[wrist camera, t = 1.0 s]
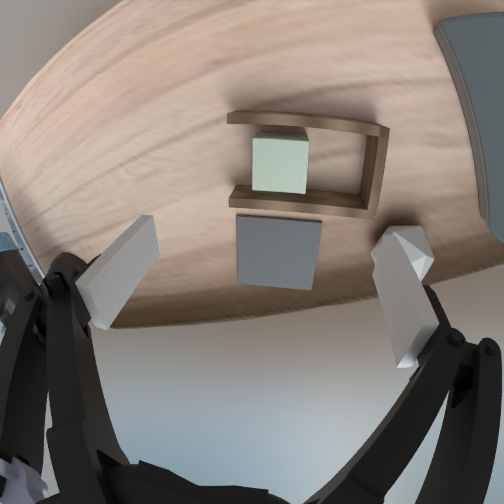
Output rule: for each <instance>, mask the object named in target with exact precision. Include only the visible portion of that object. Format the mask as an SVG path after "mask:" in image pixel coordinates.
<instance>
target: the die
mask: <svg viewBox="0 0 504 504" xmlns="http://www.w3.org/2000/svg"><path fill="white" fill-rule="evenodd" d="M384 234H385V235H393V236H396V237H397V238H398V240H399V242H400V244H401V245H402V247H403V249H404V251H405V253H406V255H407V256H408V258H409V260H410V262H411V264H412V266H413V268H414V270H415V272H416V274H417V276H418V278H419V280H420V282H421V281H422V279H423V278H424V276H425V274H426V273H427V271H428V269H429V268H430V266H431V264H432V263H433V261H434V257H433V254H432V251H431V248H430V246H429V243H428V241H427V238H426V235H425V233H424V231H423V228H422V226H388V228H387V229H386V231H385V232H384V233H383V235H382V236H381V238H380V239H379V241H378V242H377V243H376V245H375V246H374V247H373V249H372V250H371V251H370V254H371V256H372V258H373V260H374V263H375V265H376V261H377V258H378V254H379V251H380V247H381V244H382V240H383V236H384Z"/></svg>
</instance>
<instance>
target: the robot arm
mask: <svg viewBox="0 0 504 504" xmlns="http://www.w3.org/2000/svg"><path fill="white" fill-rule="evenodd" d="M159 256H160V252H159V247H158V241H157V236H156V230H155V224H154V218H153V215H142V216H141V217H139V218H138V219H137V220H136V221H135V222H134V223H133V224H132V225H131V226H130V227H129V228H128V229H127V230H126V231H125V232H124V233H123V234H121V235H120V236H119V237H118V238H117V239H116V240H115V241H114V242H113V243H112V244H111V245H110V246H109V247H108V248H107V249H106V250H105V251H104V252H103V253H102V254H100V255H98V256H97V257H95V258H93V259H92V260H91V261H90V262H89V263H88V264H86V263H85V262H83V261H82V260H81V259H79V258H78V257H76V256H74V255H72V254H68V253H63V254H60V255H59V256H58V257H57V258H56V259H55V260H54V261H53V262H52V264H51V267H50V269H49V270H48V272H47V274H46V276H45V278H44V279H43V280H42V284H41V285H40V286H39V285H38V283H37V282H36V280H35V278H34V277H33V275H32V273H31V272H30V270H29V268H28V266H27V265H26V263H25V261H24V259H23V257H22V256H21V254H20V252H19V248H18V247H16V245H15V243H14V241H13V240H12V238H11V236H10V235H9V234H8V233H6V232H1V233H0V321H1V322H2V323H3V325H4V326H3V327H2V330H1V334H2V336H3V339H2V342H1V345H0V502H1V503H2V504H290V503H289V502H287V501H285V500H284V499H282V498H280V497H277V496H275V495H272V494H269V493H268V490H267V489H257V488H249V487H242V486H235V485H234V486H233V485H232V486H199V485H196V484H194V483H192V482H190V481H188V480H186V479H184V478H182V477H180V476H178V475H176V474H174V473H173V472H171V471H170V470H167V469H164V468H161V467H158V466H155V465H152V464H149V463H146V462H144V461H141V460H139V463H138V464H130V463H129V461H128V459H127V457H126V455H125V454H124V452H123V451H122V450H121V448H120V446H119V444H118V441H117V438H116V435H115V433H114V430H113V426H112V423H111V420H110V417H109V413H108V410H107V407H106V403H105V399H104V395H103V392H102V387H101V383H100V379H99V374H98V370H97V365H96V360H95V355H94V349H93V344H92V338H91V331H90V327H89V325H88V322H89V321H90V319H92V321H93V323H94V325H95V327H98V328H101V329H104V330H108V328H109V327H110V325H111V324H112V322H113V321H114V319H115V318H116V316H117V315H118V313H119V312H120V310H121V309H122V307H123V306H124V304H125V303H126V302H127V300H128V299H129V297H130V296H131V294H132V293H133V291H134V290H135V289H136V287H137V286H138V284H139V283H140V282H141V280H142V279H143V277H144V276H145V275H146V273H147V272H148V271H149V269H150V268H151V266H152V265H153V264H154V262H155V261H156V260H157V258H158V257H159ZM373 279H374V282H375V285H376V288H377V292H378V295H379V298H380V302H381V305H382V309H383V313H384V316H385V320H386V324H387V328H388V331H389V336H390V339H391V344H392V348H393V353H394V357H395V362H396V367H411V366H412V365H413V364H414V362H415V361H416V359H418V363H419V367H418V368H417V369H416V371H415V372H414V373H413V375H412V376H411V378H410V379H409V380H410V381H409V382H408V384H407V386H406V387H405V389H404V390H403V392H402V394H401V395H400V396H399V398H398V399H397V401H396V402H395V404H394V405H393V407H392V408H391V410H390V411H389V412H388V414H387V415H386V416H385V418H384V419H383V420H382V422H381V423H380V424H379V426H378V427H377V428H376V430H375V431H374V432H373V433H372V435H371V436H370V437H369V438H368V439H367V441H366V442H365V443H364V444H363V446H362V447H361V448H360V449H359V450H358V451H357V453H356V454H355V455H354V456H353V457H352V458H351V459H350V460H349V461H348V462H347V464H346V465H345V466H344V467H343V468H342V469H341V470H340V471H339V472H338V473H337V474H336V475H335V476H334V477H333V478H332V479H331V480H330V481H329V482H328V483H327V484H326V485H325V486H324V487H323V488H321V489H320V490H319V491H317V492H316V493H315V494H314V495H312V496H311V497H310V498H309V499H308V500H307V501H305V502H304V503H303V504H383V503H384V497H385V495H386V493H387V492H388V490H389V489H390V488H391V487H392V485H393V484H394V483H395V481H396V480H397V479H398V477H399V476H400V475H401V473H402V472H403V470H404V469H405V468H406V466H407V465H408V463H409V462H410V460H411V459H412V457H413V456H414V454H415V452H416V451H417V449H418V448H419V446H420V445H421V443H422V441H423V440H424V438H425V436H426V434H427V433H428V431H429V429H430V427H431V425H432V423H433V422H434V420H435V418H436V416H437V414H438V412H439V410H440V408H441V406H442V404H443V402H444V400H445V398H446V396H447V393H448V391H449V395H448V400H447V405H446V410H445V415H444V419H443V423H442V428H441V431H440V435H439V439H438V442H437V446H436V449H435V452H434V455H433V459H432V462H431V464H430V467H429V470H428V473H427V476H426V478H425V481H424V483H423V486H422V488H421V491H420V493H419V495H418V498H417V500H416V502H415V504H483V502H484V499H485V495H486V492H487V489H488V485H489V482H490V478H491V473H492V469H493V464H494V459H495V454H496V448H497V442H498V435H499V427H500V416H501V400H502V360H501V350H500V347H499V346H498V344H497V343H496V342H495V341H494V340H492V339H491V338H483V339H482V341H480V343H479V344H478V345H476V344H472V343H469V342H466V340H465V337H464V336H463V334H462V333H461V332H460V331H458V330H457V329H455V328H451V326H450V323H449V321H448V319H447V316H446V314H445V312H444V310H443V308H442V307H441V304H440V302H439V299H438V297H437V295H436V293H435V292H434V291H433V290H432V289H431V288H430V286H429V285H422V284H421V282H420V280H419V278H418V276H417V274H416V272H415V270H414V268H413V266H412V264H411V262H410V260H409V258H408V256H407V255H406V253H405V251H404V249H403V247H402V245H401V244H400V242H399V240H398V238H397V237H396V236H393V235H385V234H384V236H383V240H382V244H381V247H380V251H379V254H378V258H377V261H376V265H375V268H374V271H373ZM48 391H49V401H50V409H51V416H52V428H49V429H47V432H46V436H47V443H48V448H49V453H50V458H51V462H52V466H53V470H54V474H55V478H56V481H57V485H58V488H59V491H60V493H58V494H55V495H53V496H50V497H48V498H44V495H43V494H46V493H47V492H48V487H47V484H46V483H45V482H44V481H42V479H41V473H42V467H43V454H44V426H45V413H46V403H47V394H48Z"/></svg>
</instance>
